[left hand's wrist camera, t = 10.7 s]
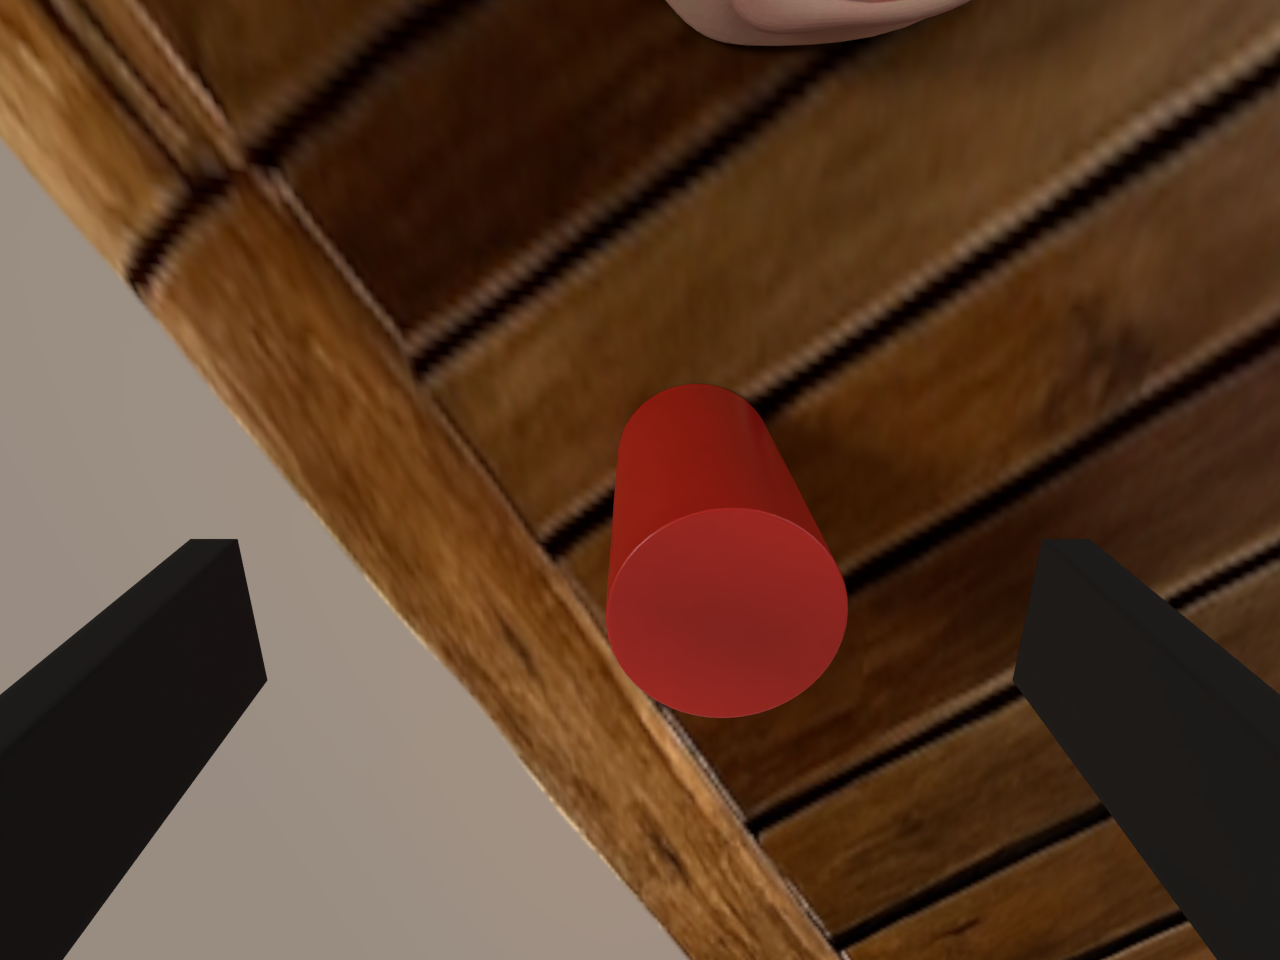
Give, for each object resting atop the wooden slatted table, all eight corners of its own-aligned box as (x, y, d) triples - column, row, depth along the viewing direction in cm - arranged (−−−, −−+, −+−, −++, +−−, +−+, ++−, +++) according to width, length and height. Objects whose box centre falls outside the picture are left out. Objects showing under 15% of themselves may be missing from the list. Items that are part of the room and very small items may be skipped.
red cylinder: (596, 411, 29) (571, 550, 18) (748, 362, 28) (817, 476, 17) (645, 546, 31) (648, 743, 20) (788, 503, 30) (871, 684, 19)
